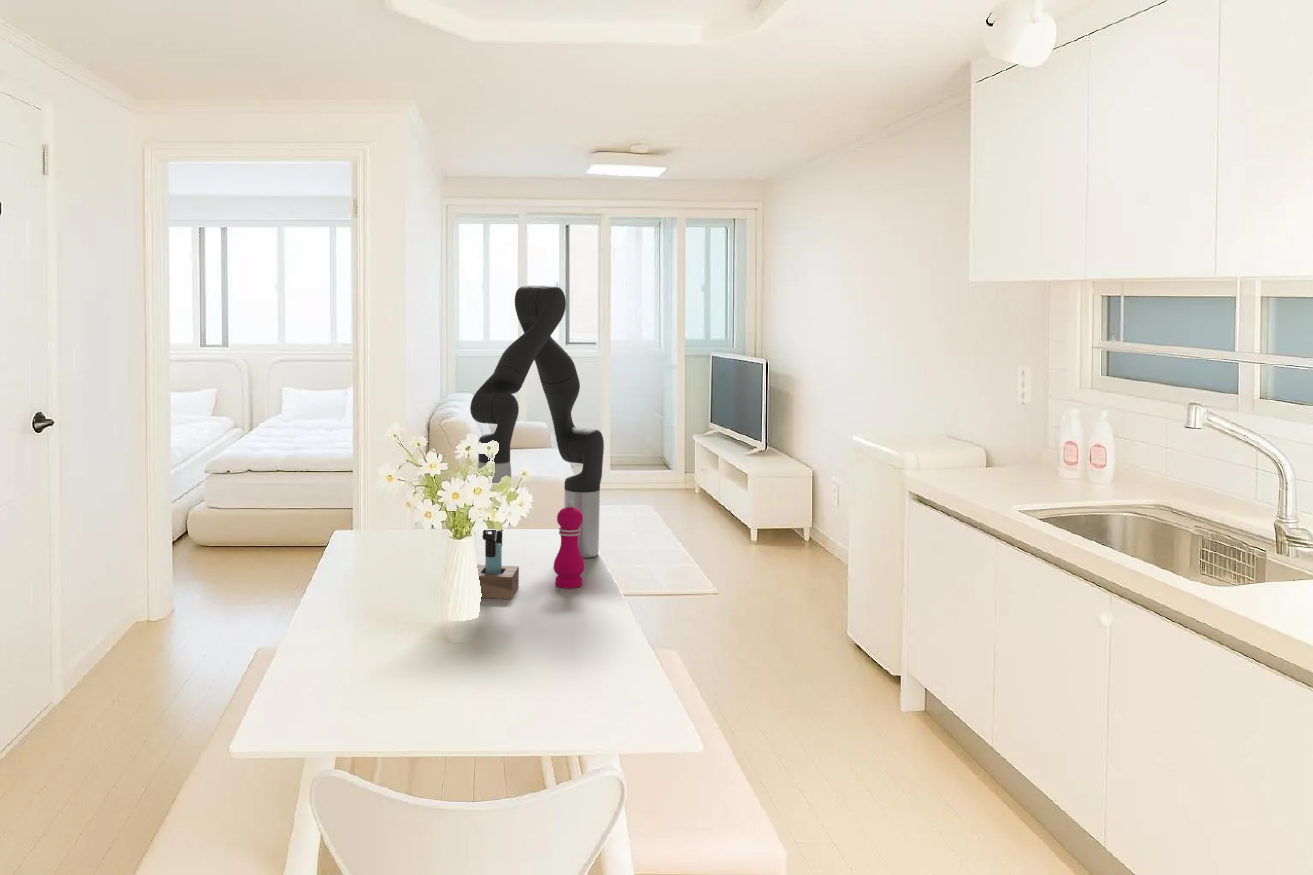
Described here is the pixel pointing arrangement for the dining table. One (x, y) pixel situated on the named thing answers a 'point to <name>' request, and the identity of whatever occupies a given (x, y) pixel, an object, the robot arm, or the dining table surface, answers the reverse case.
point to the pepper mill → (569, 548)
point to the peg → (494, 561)
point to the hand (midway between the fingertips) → (493, 552)
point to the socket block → (499, 582)
